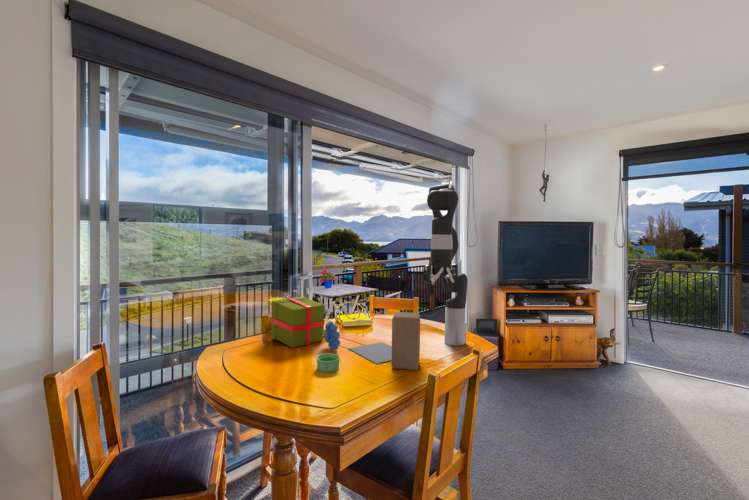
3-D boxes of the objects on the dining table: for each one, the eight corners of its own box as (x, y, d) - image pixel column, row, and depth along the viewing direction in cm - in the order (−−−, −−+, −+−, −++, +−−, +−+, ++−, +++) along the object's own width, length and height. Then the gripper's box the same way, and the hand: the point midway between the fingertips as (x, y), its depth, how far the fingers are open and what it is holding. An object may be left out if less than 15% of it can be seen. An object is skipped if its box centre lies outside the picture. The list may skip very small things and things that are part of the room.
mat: (382, 342, 173) (382, 342, 173) (412, 356, 154) (412, 355, 154) (348, 349, 163) (348, 348, 163) (376, 364, 144) (376, 363, 144)
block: (417, 371, 138) (418, 318, 137) (391, 369, 140) (391, 316, 139) (419, 362, 147) (420, 312, 147) (394, 360, 149) (395, 311, 149)
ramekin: (320, 374, 133) (320, 362, 133) (312, 366, 141) (313, 355, 141) (343, 370, 138) (343, 359, 137) (334, 363, 146) (334, 352, 145)
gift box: (322, 348, 174) (293, 333, 191) (331, 304, 175) (301, 294, 192) (285, 349, 159) (257, 333, 177) (295, 302, 160) (266, 291, 177)
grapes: (317, 347, 165) (317, 320, 164) (330, 344, 169) (330, 318, 168) (329, 354, 155) (330, 326, 155) (343, 351, 159) (343, 324, 159)
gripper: (448, 247, 136) (447, 291, 136) (418, 247, 128) (417, 293, 129) (464, 248, 129) (462, 294, 130) (433, 248, 122) (432, 297, 122)
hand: (440, 293), depth 129 cm, fingers open, 8 cm apart
